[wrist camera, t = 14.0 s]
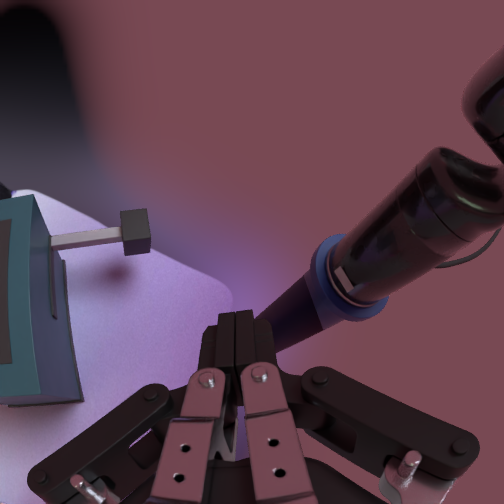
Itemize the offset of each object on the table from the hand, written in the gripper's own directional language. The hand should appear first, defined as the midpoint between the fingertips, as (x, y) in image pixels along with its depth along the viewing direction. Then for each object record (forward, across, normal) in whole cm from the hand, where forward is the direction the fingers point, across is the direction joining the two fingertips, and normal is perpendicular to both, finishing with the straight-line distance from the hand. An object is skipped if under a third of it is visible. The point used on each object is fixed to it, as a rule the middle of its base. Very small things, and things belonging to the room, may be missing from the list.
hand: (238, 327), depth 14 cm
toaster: (+9, +21, +5) cm, 24 cm away
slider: (+14, +13, -1) cm, 19 cm away
